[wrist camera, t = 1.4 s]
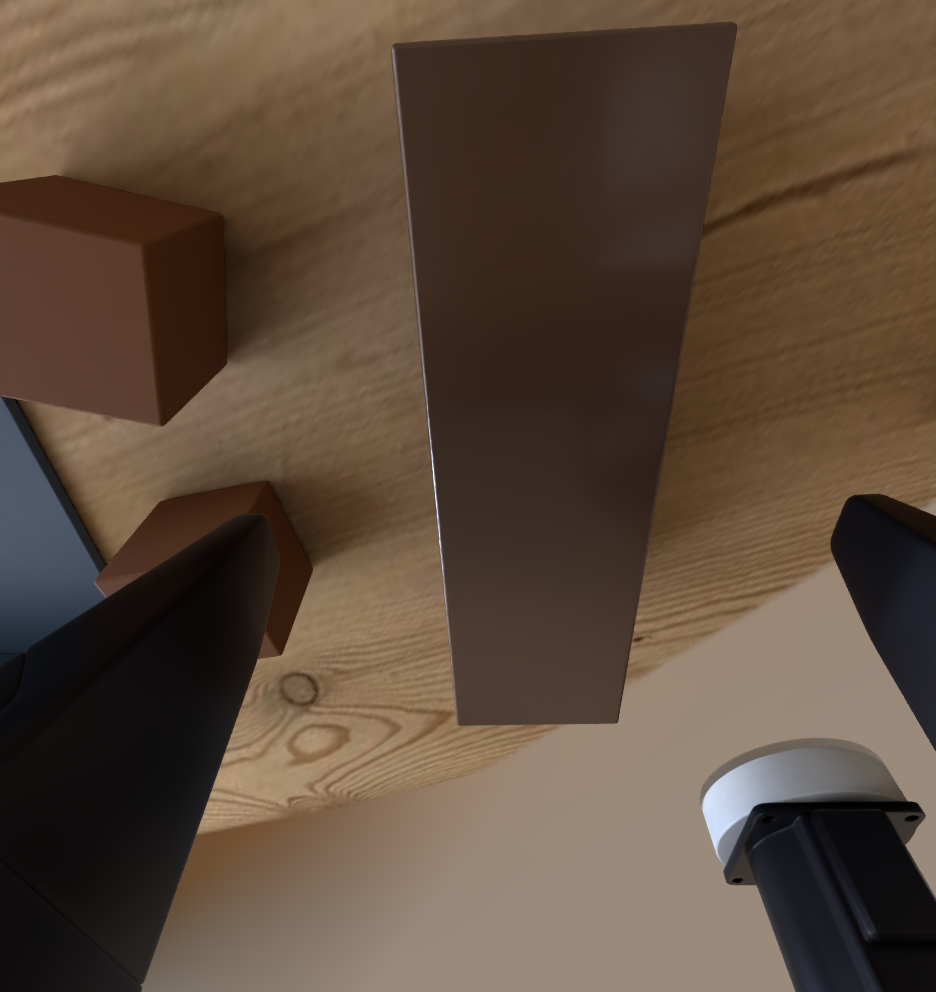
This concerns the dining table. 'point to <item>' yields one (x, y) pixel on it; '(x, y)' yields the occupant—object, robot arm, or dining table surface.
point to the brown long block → (552, 336)
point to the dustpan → (38, 543)
